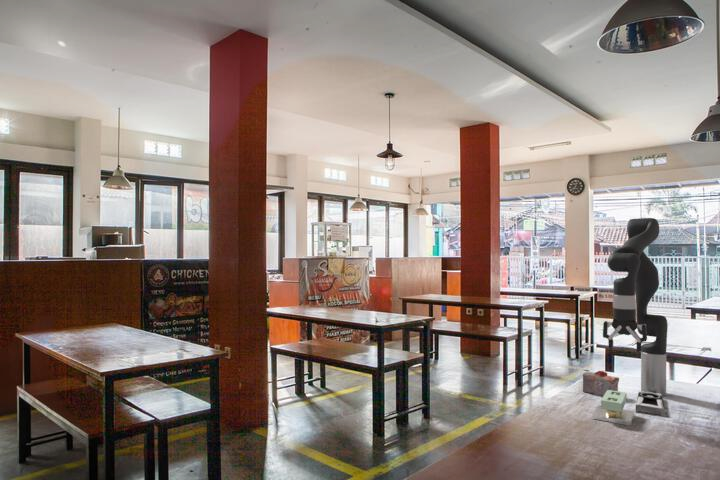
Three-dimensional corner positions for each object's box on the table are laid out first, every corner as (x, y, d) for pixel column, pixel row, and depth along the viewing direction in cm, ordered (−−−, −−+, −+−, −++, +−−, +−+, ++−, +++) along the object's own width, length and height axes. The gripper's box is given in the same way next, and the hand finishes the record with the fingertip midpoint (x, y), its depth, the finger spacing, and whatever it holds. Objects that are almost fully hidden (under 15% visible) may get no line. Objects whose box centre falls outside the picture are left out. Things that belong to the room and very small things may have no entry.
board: (607, 397, 187) (607, 389, 187) (626, 400, 183) (626, 392, 183) (600, 408, 174) (601, 400, 174) (621, 412, 170) (621, 403, 170)
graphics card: (635, 404, 184) (637, 388, 206) (635, 413, 184) (637, 397, 206) (667, 409, 179) (665, 392, 201) (667, 419, 179) (665, 401, 200)
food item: (621, 396, 205) (621, 372, 205) (613, 400, 199) (613, 375, 200) (588, 389, 215) (588, 366, 215) (580, 392, 210) (580, 369, 210)
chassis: (598, 409, 187) (598, 389, 187) (634, 415, 181) (634, 394, 181) (592, 418, 176) (592, 397, 176) (630, 425, 169) (630, 404, 170)
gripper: (647, 307, 181) (647, 351, 181) (604, 304, 189) (604, 346, 189) (645, 309, 175) (646, 355, 175) (601, 306, 183) (601, 350, 183)
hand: (624, 350), depth 182 cm, fingers open, 8 cm apart
